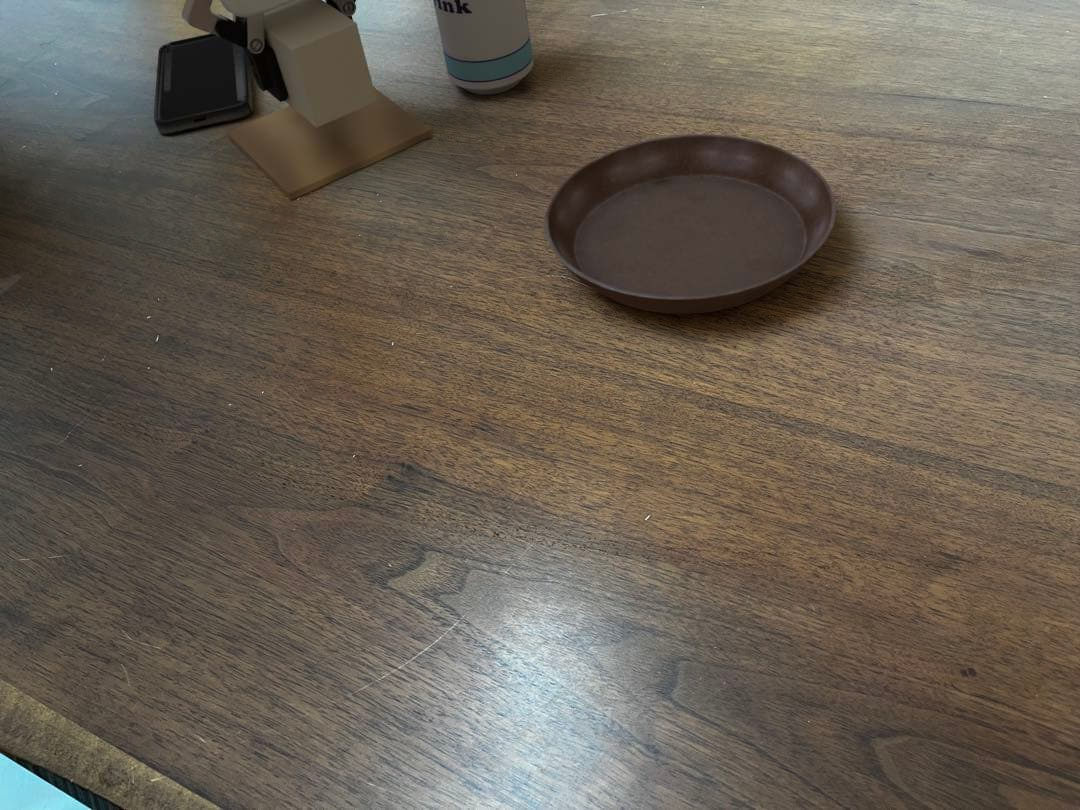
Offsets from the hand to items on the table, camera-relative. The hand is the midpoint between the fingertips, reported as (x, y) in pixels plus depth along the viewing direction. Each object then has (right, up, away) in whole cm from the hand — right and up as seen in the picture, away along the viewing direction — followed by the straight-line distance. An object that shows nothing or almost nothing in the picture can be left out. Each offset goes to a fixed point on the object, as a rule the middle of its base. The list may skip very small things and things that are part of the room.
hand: (312, 77), depth 81 cm
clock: (0, -1, +1) cm, 1 cm away
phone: (-12, +3, +12) cm, 17 cm away
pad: (0, -4, +4) cm, 5 cm away
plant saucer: (+26, -14, -12) cm, 32 cm away
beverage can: (+13, +2, +7) cm, 15 cm away
